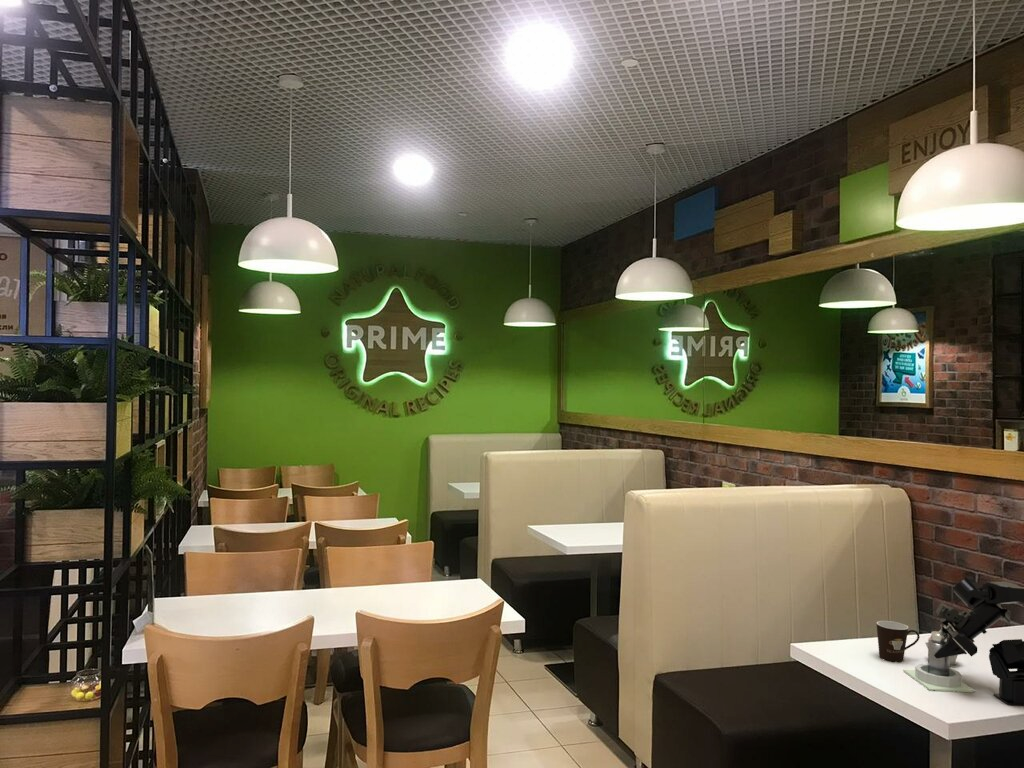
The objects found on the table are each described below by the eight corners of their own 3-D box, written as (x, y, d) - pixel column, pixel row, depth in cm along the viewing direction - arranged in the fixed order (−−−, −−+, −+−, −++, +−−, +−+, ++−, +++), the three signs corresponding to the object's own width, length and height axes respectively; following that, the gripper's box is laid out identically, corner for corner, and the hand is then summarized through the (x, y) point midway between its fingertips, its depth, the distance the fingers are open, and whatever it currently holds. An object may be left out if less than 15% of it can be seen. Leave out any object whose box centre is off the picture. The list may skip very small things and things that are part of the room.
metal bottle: (953, 682, 211) (954, 636, 211) (934, 682, 211) (934, 636, 211) (942, 675, 216) (943, 630, 216) (924, 675, 216) (924, 630, 217)
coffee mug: (874, 660, 230) (875, 626, 230) (876, 651, 237) (877, 619, 237) (918, 667, 224) (919, 633, 224) (918, 659, 232) (919, 625, 232)
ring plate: (974, 692, 207) (974, 681, 207) (929, 690, 207) (929, 679, 207) (945, 672, 221) (945, 662, 221) (903, 671, 221) (903, 660, 221)
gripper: (949, 587, 222) (905, 621, 225) (964, 604, 204) (916, 640, 207) (979, 618, 219) (935, 652, 222) (998, 637, 201) (949, 674, 205)
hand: (933, 653), depth 214 cm, fingers closed on metal bottle, 5 cm apart
